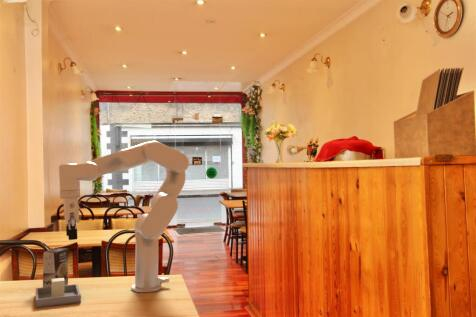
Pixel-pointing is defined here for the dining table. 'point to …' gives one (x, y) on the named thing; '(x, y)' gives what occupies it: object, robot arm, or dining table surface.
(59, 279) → the cream rectangular block
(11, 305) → the dining table surface
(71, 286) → the tray
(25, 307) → the dining table surface
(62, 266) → the coffee box
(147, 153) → the robot arm
